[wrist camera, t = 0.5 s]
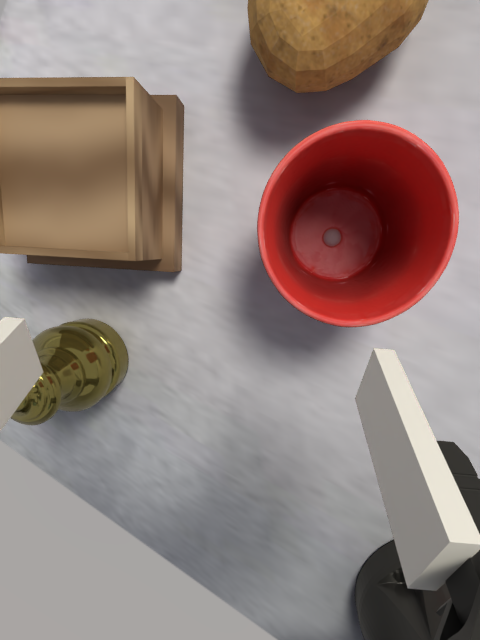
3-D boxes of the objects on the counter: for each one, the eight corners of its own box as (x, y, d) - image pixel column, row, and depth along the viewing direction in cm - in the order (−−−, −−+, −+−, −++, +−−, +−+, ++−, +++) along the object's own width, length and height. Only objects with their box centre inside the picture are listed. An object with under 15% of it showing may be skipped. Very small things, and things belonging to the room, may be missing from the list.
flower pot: (262, 298, 30) (251, 321, 21) (271, 161, 28) (263, 117, 19) (391, 307, 29) (441, 336, 20) (411, 165, 27) (478, 119, 17)
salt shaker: (93, 406, 35) (17, 468, 25) (41, 349, 34) (-57, 389, 24) (146, 362, 33) (86, 409, 23) (92, 301, 32) (8, 323, 23)
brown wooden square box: (181, 270, 31) (149, 276, 24) (43, 262, 32) (-25, 265, 25) (184, 105, 28) (149, 58, 21) (33, 105, 30) (-46, 60, 23)
